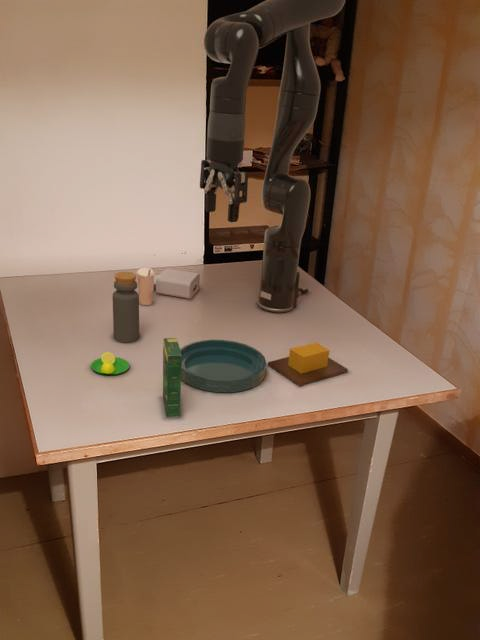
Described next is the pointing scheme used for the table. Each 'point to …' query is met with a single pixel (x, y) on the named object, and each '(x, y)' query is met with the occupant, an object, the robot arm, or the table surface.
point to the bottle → (125, 308)
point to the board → (310, 376)
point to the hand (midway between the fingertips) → (221, 216)
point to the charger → (177, 283)
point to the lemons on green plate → (109, 364)
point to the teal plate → (222, 365)
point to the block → (308, 357)
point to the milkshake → (145, 285)
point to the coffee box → (171, 377)
